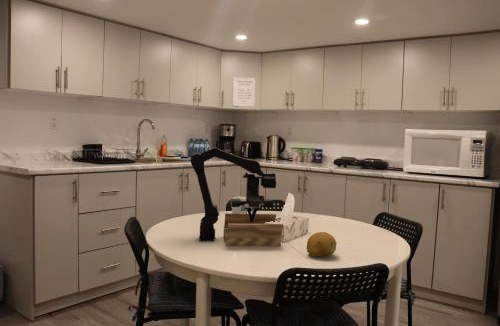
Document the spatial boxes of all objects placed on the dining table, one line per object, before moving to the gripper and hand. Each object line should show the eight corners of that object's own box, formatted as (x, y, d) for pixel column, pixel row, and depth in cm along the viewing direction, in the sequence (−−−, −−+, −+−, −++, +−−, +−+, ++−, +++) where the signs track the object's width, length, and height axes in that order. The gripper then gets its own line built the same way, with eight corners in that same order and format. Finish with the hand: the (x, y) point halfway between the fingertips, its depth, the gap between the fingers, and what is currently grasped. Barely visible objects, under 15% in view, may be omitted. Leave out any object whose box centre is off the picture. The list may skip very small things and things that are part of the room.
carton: (225, 246, 186) (226, 237, 185) (223, 237, 200) (223, 228, 200) (280, 246, 189) (281, 237, 188) (274, 237, 203) (274, 228, 203)
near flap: (280, 236, 188) (280, 237, 188) (226, 236, 185) (226, 237, 185) (283, 223, 184) (283, 224, 183) (228, 223, 180) (228, 224, 180)
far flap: (224, 228, 200) (224, 227, 200) (274, 228, 203) (274, 228, 203) (225, 214, 196) (225, 213, 197) (276, 214, 199) (276, 213, 200)
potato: (303, 252, 181) (304, 229, 180) (332, 252, 182) (333, 229, 181) (309, 260, 170) (310, 235, 170) (340, 260, 172) (341, 235, 171)
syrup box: (240, 226, 223) (241, 198, 221) (231, 224, 226) (232, 196, 225) (246, 224, 227) (247, 197, 226) (238, 222, 231) (239, 195, 230)
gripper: (233, 190, 185) (232, 226, 187) (276, 191, 188) (274, 226, 189) (231, 186, 196) (230, 220, 198) (271, 187, 199) (270, 220, 200)
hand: (251, 221), depth 196 cm, fingers closed
